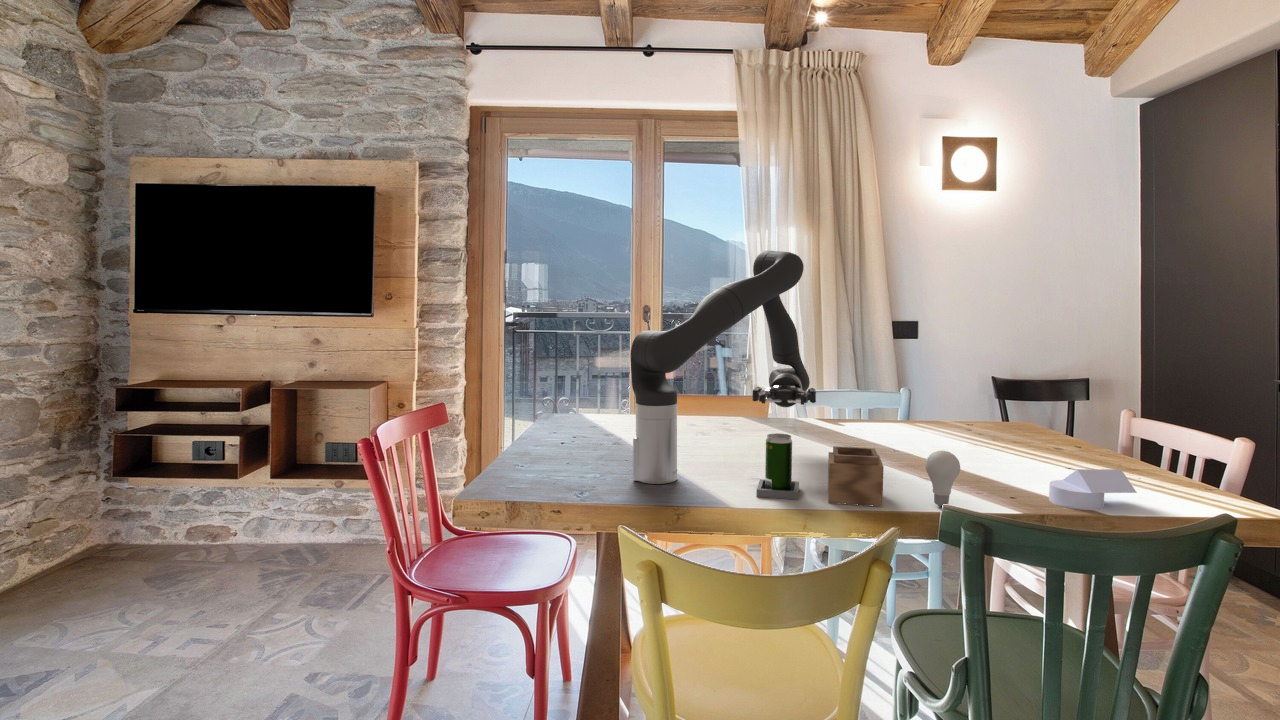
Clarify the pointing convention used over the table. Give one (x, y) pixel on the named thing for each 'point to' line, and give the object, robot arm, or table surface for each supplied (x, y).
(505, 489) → the table surface
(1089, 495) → the wedge on round base
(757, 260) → the robot arm
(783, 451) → the beer can
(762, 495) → the charcoal holder
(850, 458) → the walnut stand
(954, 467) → the lightbulb
